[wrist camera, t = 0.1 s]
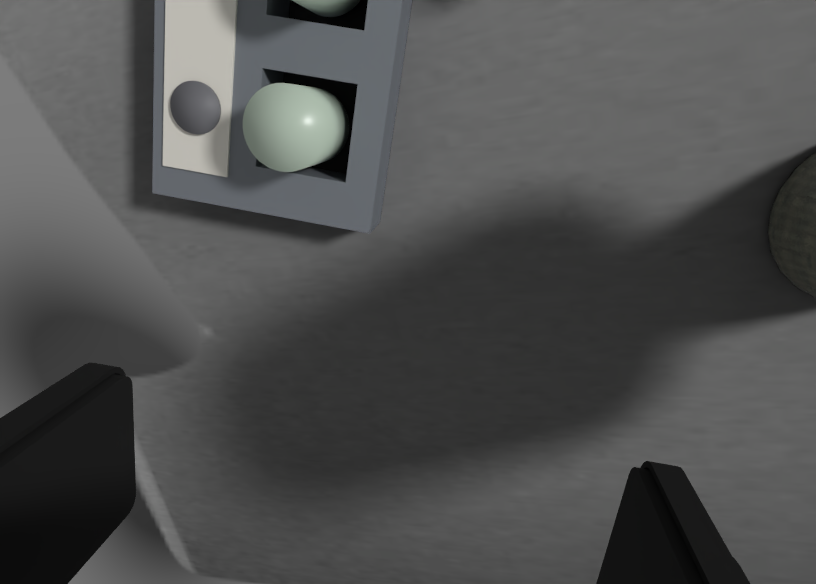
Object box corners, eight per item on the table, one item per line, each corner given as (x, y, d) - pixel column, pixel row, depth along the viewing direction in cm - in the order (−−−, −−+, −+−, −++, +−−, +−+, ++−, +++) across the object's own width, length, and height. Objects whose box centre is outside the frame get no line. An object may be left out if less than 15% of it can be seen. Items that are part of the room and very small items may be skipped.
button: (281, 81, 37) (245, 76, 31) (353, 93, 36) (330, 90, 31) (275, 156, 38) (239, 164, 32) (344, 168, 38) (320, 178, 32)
